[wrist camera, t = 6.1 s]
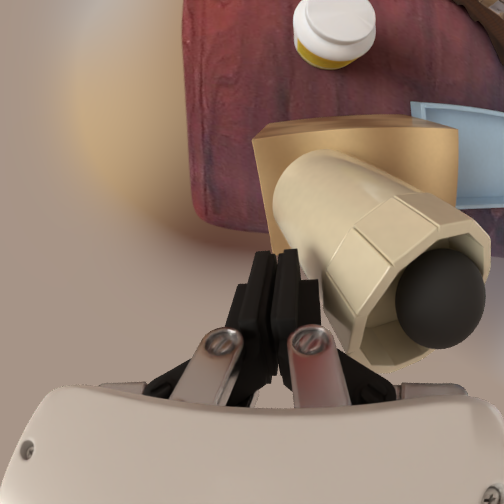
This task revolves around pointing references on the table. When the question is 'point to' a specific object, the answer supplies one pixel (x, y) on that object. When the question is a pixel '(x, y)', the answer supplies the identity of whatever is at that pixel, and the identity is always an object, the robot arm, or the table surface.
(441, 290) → the ball
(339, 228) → the jar
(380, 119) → the plinth
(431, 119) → the tray
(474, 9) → the potted plant
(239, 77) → the table surface
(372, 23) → the pill bottle
